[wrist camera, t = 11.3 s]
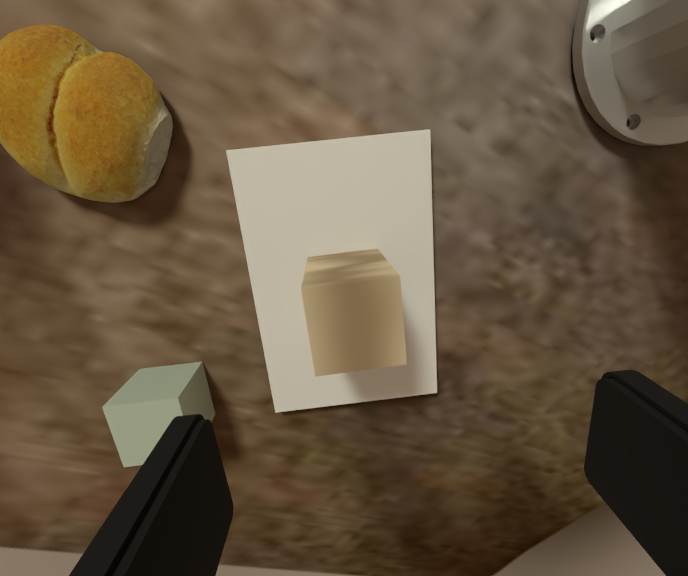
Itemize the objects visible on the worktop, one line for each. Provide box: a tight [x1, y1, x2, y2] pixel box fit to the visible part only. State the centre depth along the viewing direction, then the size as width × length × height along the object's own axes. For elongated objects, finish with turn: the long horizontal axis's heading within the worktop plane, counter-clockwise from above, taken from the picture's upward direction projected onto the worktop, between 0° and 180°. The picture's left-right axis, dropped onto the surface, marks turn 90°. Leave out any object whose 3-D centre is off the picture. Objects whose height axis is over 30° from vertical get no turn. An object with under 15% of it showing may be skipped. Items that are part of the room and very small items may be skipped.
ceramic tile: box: [226, 129, 437, 413], centre depth 23 cm, size 12×18×1 cm, turn 6°
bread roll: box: [0, 25, 173, 202], centre depth 19 cm, size 8×9×4 cm
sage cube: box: [102, 362, 215, 467], centre depth 24 cm, size 4×4×4 cm
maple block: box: [301, 248, 407, 377], centre depth 20 cm, size 4×4×7 cm
